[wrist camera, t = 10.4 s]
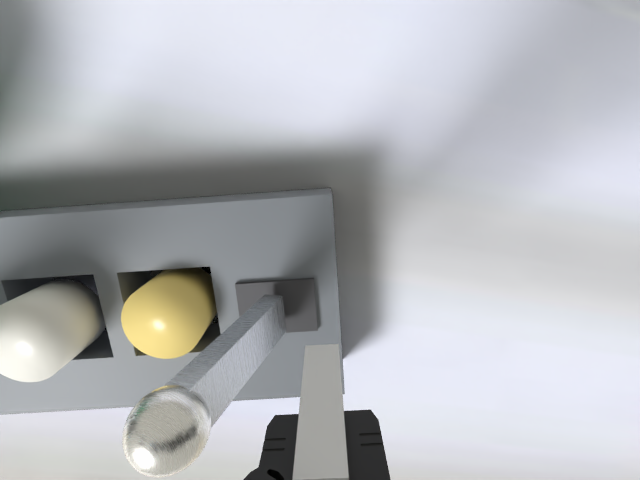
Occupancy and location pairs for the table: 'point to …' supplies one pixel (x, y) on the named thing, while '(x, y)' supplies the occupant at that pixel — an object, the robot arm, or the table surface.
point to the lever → (200, 393)
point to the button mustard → (170, 312)
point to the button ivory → (47, 329)
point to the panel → (174, 253)
